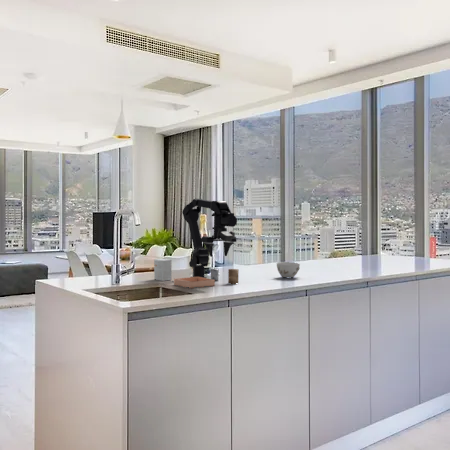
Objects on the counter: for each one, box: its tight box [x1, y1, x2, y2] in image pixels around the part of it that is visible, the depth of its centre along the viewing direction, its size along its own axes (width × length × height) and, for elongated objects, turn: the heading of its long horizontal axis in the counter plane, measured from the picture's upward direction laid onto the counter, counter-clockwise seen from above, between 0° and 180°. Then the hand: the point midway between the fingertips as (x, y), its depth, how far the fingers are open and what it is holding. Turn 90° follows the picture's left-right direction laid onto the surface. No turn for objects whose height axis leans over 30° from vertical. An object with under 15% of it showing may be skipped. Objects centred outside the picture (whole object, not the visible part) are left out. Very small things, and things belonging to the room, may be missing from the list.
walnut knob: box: [227, 268, 239, 285], centre depth 257 cm, size 5×5×7 cm
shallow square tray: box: [173, 276, 216, 289], centre depth 249 cm, size 14×14×3 cm
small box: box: [153, 258, 173, 282], centre depth 268 cm, size 8×6×10 cm
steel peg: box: [210, 268, 219, 282], centre depth 266 cm, size 4×4×6 cm
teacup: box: [276, 261, 301, 278], centre depth 282 cm, size 15×12×8 cm
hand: (218, 256), depth 263 cm, fingers open, 9 cm apart
